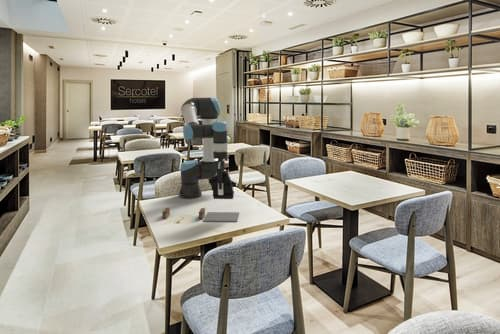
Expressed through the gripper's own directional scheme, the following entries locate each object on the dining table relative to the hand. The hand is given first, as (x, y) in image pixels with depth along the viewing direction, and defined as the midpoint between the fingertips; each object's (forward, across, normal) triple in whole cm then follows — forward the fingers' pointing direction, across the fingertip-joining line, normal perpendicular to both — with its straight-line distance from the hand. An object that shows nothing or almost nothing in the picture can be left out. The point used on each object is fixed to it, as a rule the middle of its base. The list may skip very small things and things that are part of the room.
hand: (221, 193), depth 189 cm
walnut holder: (+14, 0, -21) cm, 25 cm away
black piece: (+3, 0, 0) cm, 3 cm away
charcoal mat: (+14, 0, 0) cm, 14 cm away
